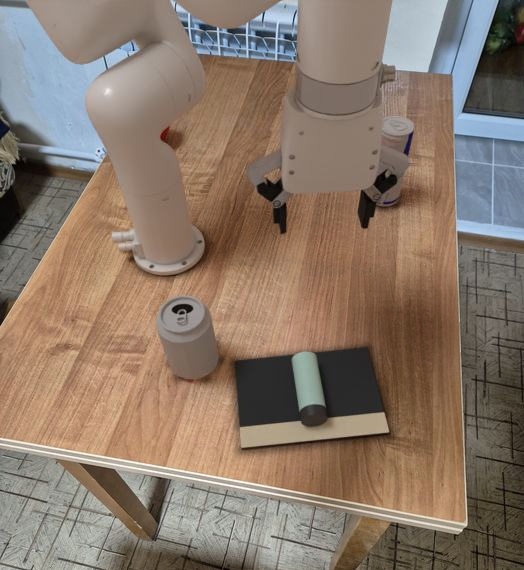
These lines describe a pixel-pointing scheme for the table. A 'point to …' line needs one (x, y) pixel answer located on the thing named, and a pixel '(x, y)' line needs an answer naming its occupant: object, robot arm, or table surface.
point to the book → (284, 404)
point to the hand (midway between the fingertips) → (322, 223)
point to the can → (187, 336)
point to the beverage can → (398, 138)
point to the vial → (309, 389)
